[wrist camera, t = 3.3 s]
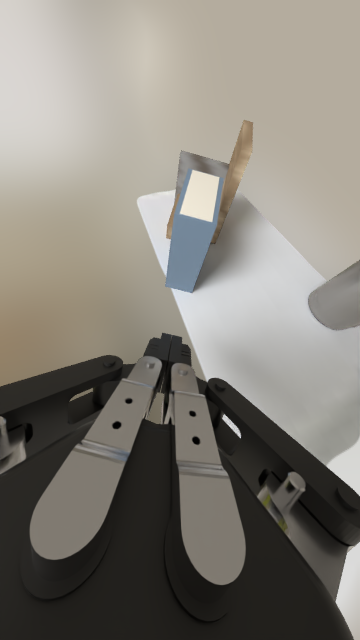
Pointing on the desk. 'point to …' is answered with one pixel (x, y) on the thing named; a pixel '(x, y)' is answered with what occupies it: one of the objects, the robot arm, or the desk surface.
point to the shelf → (217, 174)
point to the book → (193, 228)
